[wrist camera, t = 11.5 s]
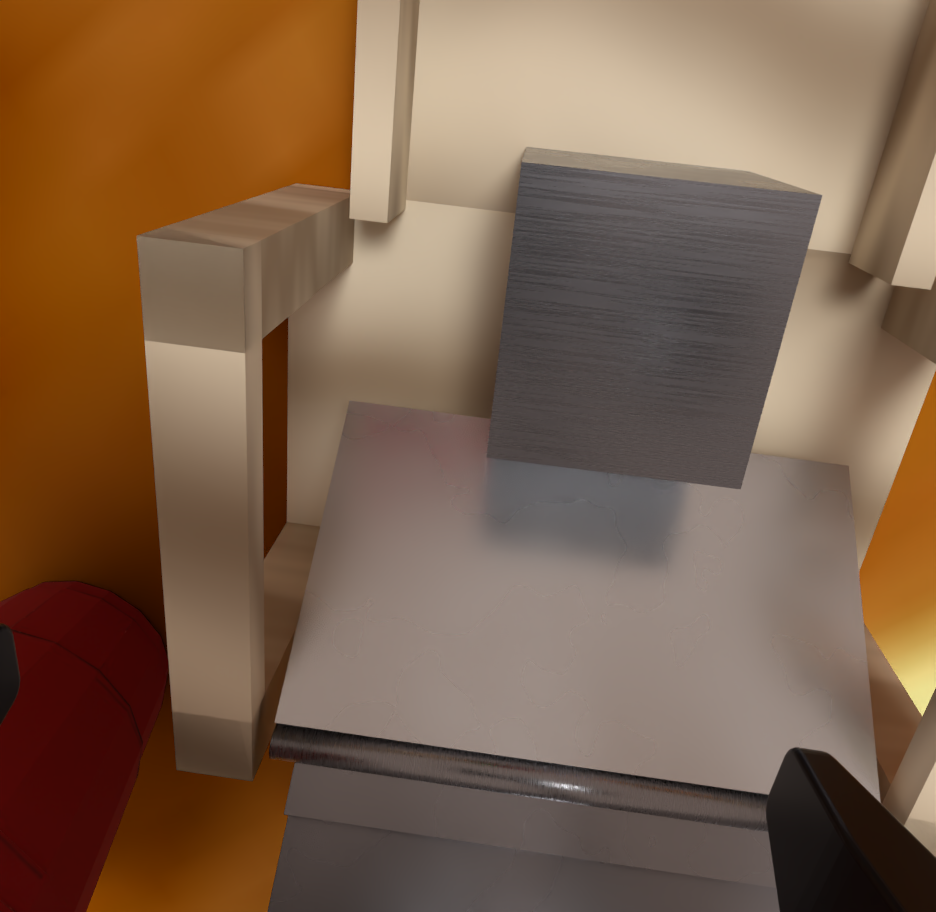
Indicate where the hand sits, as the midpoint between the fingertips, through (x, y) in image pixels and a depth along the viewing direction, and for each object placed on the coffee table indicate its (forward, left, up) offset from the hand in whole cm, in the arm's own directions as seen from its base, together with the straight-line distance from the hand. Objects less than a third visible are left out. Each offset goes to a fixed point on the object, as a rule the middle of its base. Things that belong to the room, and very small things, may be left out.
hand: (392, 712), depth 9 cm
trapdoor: (-9, -3, -9) cm, 13 cm away
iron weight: (0, -3, -10) cm, 10 cm away
